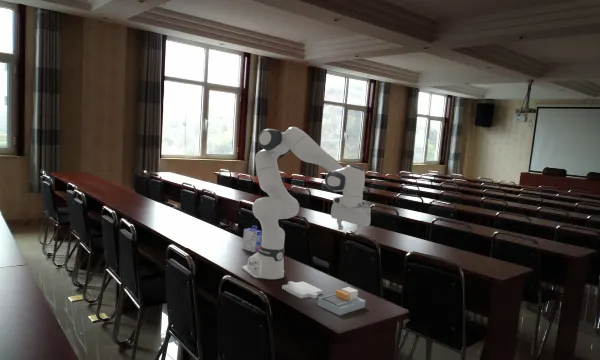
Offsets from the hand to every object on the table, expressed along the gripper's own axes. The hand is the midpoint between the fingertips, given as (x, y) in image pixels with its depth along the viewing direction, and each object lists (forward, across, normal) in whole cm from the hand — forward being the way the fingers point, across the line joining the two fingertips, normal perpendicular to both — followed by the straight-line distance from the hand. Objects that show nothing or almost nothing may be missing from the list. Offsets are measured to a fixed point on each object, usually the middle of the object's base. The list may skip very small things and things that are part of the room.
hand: (348, 232), depth 194 cm
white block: (+29, -9, +6) cm, 31 cm away
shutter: (+26, -9, +14) cm, 31 cm away
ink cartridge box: (+29, +75, -7) cm, 81 cm away
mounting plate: (+30, +12, +13) cm, 35 cm away
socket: (+29, -9, +10) cm, 32 cm away
